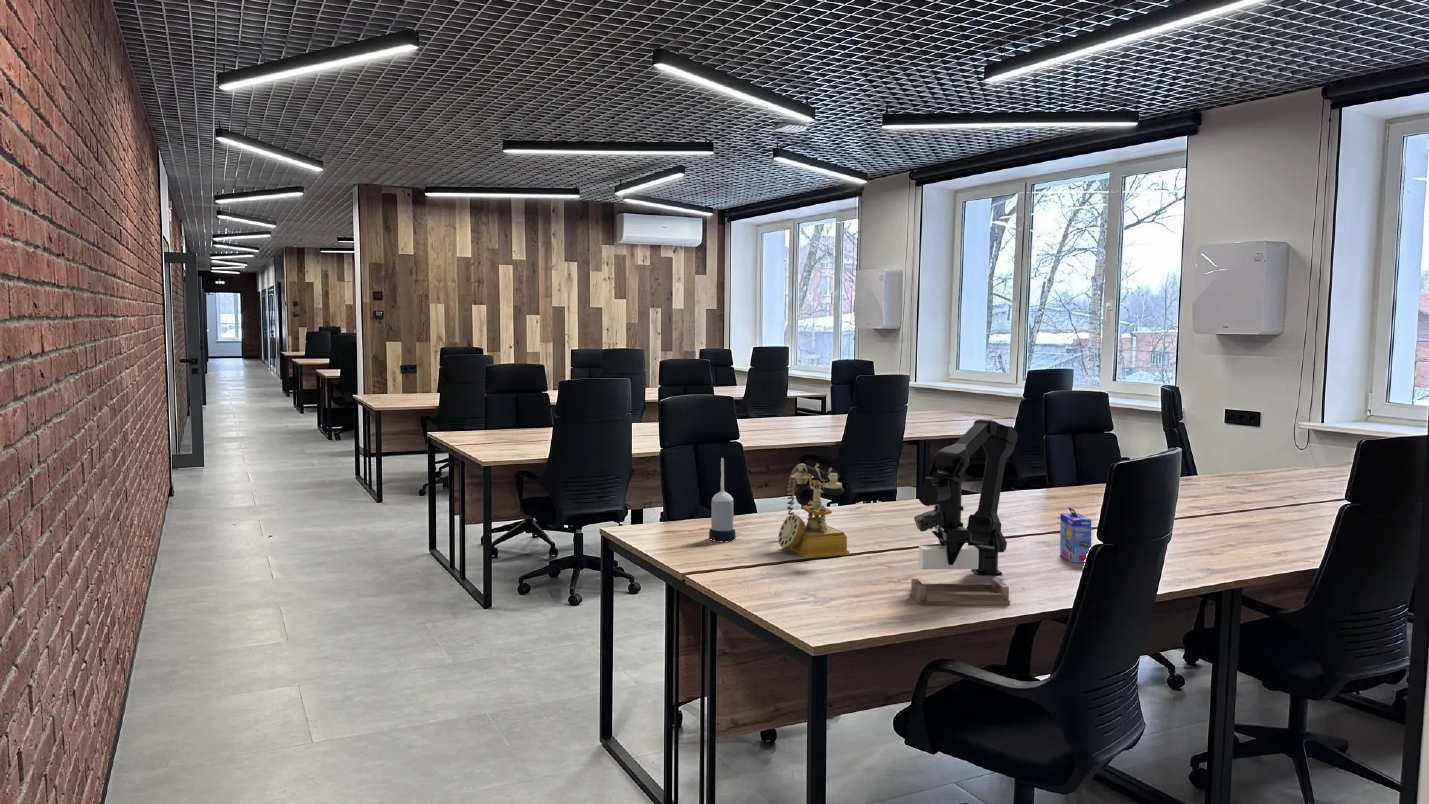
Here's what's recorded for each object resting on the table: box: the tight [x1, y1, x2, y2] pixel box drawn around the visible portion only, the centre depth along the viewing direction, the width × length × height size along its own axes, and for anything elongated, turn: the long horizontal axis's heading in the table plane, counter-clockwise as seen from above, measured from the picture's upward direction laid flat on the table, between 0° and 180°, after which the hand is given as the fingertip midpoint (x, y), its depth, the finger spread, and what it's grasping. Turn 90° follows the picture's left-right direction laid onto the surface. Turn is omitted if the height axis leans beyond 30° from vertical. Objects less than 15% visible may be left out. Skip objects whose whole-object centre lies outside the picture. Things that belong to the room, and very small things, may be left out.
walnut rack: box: [909, 577, 1011, 606], centre depth 230 cm, size 10×21×4 cm, turn 92°
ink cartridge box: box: [1059, 506, 1092, 564], centre depth 272 cm, size 10×6×14 cm, turn 2°
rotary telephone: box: [777, 462, 850, 559], centre depth 284 cm, size 35×18×25 cm, turn 20°
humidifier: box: [708, 457, 737, 543], centre depth 296 cm, size 8×8×25 cm
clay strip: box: [917, 545, 979, 570], centre depth 242 cm, size 4×14×5 cm, turn 92°
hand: (948, 562), depth 242 cm, fingers closed on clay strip, 4 cm apart
